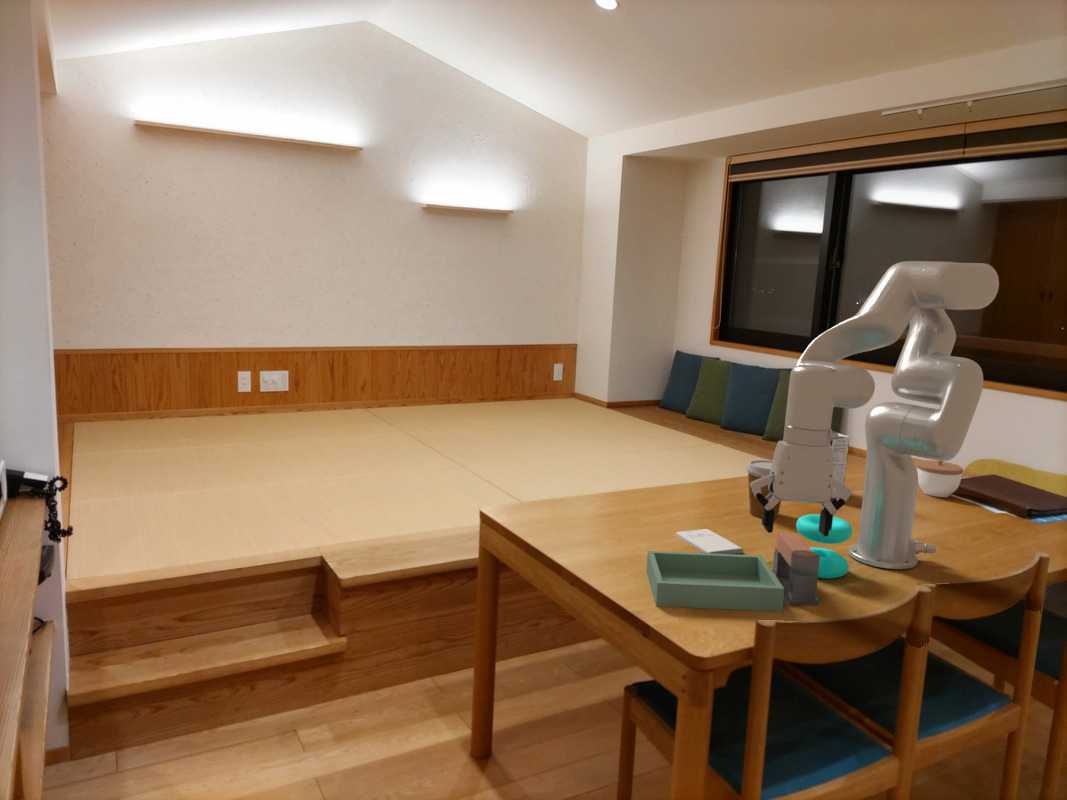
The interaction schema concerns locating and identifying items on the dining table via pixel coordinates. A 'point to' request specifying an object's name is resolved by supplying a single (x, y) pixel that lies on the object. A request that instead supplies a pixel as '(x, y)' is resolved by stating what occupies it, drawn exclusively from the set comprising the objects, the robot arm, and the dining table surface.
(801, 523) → the donuts
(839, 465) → the candy box
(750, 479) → the disposable coffee cup
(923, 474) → the lidded jar
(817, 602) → the bracket
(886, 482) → the robot arm
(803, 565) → the strut
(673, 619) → the dining table surface
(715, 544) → the external hard drive
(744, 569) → the tray
